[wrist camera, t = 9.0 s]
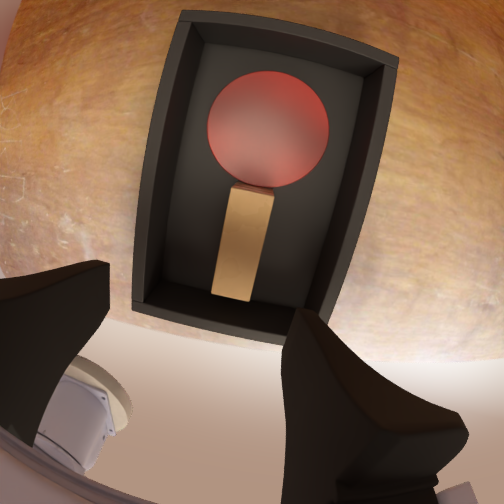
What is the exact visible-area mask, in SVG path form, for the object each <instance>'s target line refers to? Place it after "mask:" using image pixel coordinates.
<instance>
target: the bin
mask: <svg viewBox="0 0 504 504" xmlns="http://www.w3.org/2000/svg"><path fill="white" fill-rule="evenodd" d="M398 64H399V57H397V56H394V55H392V54H390V53H387V52H385V51H383V50H380V49H378V48H375V47H373V46H370V45H367V44H365V43H362V42H359V41H356V40H353V39H350V38H347V37H344V36H341V35H338V34H335V33H332V32H328V31H325V30H321V29H317V28H314V27H310V26H306V25H302V24H297V23H293V22H288V21H283V20H278V19H273V18H267V17H261V16H254V15H247V14H239V13H230V12H219V11H203V10H182V11H181V14H180V17H179V20H178V23H177V26H176V29H175V32H174V35H173V38H172V41H171V44H170V48H169V51H168V54H167V58H166V61H165V65H164V69H163V72H162V76H161V80H160V84H159V88H158V92H157V96H156V100H155V105H154V109H153V114H152V119H151V124H150V129H149V134H148V139H147V145H146V150H145V156H144V162H143V169H142V176H141V183H140V190H139V198H138V207H137V216H136V227H135V238H134V252H133V270H132V310H133V311H136V312H139V313H143V314H146V315H150V316H153V317H157V318H161V319H164V320H168V321H172V322H176V323H180V324H184V325H188V326H192V327H196V328H200V329H204V330H208V331H213V332H217V333H221V334H226V335H231V336H235V337H240V338H245V339H250V340H255V341H260V342H265V343H271V344H276V345H282V346H284V343H285V340H286V337H287V335H288V332H289V329H290V326H291V323H292V320H293V317H294V314H295V311H296V308H297V307H299V308H304V309H309V310H313V311H314V312H315V313H316V314H317V315H318V316H319V317H320V318H321V319H322V320H323V321H324V322H325V323H326V324H328V322H329V319H330V317H331V314H332V312H333V309H334V306H335V304H336V301H337V298H338V296H339V293H340V290H341V288H342V285H343V282H344V279H345V277H346V274H347V271H348V268H349V265H350V262H351V259H352V256H353V253H354V250H355V247H356V244H357V241H358V238H359V235H360V231H361V228H362V225H363V222H364V218H365V215H366V211H367V208H368V204H369V201H370V197H371V194H372V190H373V186H374V182H375V179H376V175H377V171H378V167H379V163H380V158H381V154H382V150H383V146H384V141H385V136H386V132H387V127H388V122H389V117H390V112H391V107H392V101H393V95H394V89H395V83H396V77H397V69H398ZM257 71H277V72H282V73H286V74H289V75H291V76H294V77H296V78H298V79H300V80H301V81H303V82H304V83H306V84H307V85H308V86H309V87H310V88H311V89H312V90H313V91H314V92H315V93H316V94H317V95H318V97H319V98H320V100H321V101H322V103H323V105H324V107H325V110H326V112H327V116H328V120H329V139H328V144H327V147H326V150H325V152H324V155H323V157H322V158H321V160H320V161H319V163H318V164H317V165H316V167H315V168H314V169H313V170H312V171H311V172H310V173H309V174H307V175H306V176H304V177H303V178H302V179H300V180H298V181H296V182H294V183H291V184H288V185H285V186H280V187H272V188H271V189H273V192H274V197H275V198H274V202H273V206H272V210H271V215H270V219H269V223H268V227H267V231H266V235H265V240H264V244H263V248H262V252H261V256H260V260H259V264H258V268H257V273H256V277H255V281H254V285H253V289H252V293H251V297H250V301H249V302H248V301H243V300H238V299H234V298H229V297H225V296H220V295H216V294H212V293H211V290H212V284H213V278H214V273H215V267H216V262H217V257H218V251H219V246H220V241H221V235H222V230H223V225H224V220H225V215H226V210H227V205H228V200H229V195H230V190H231V187H232V186H233V185H234V184H235V183H236V182H237V181H239V180H238V179H236V178H234V177H233V176H231V175H230V174H229V173H227V172H226V171H225V170H224V169H223V168H222V167H221V166H220V164H219V163H218V162H217V160H216V159H215V157H214V155H213V154H212V151H211V149H210V146H209V143H208V139H207V119H208V114H209V111H210V108H211V106H212V104H213V102H214V100H215V98H216V97H217V95H218V94H219V93H220V92H221V90H222V89H223V88H224V87H226V86H227V85H228V84H229V83H231V82H232V81H233V80H235V79H237V78H239V77H241V76H243V75H246V74H248V73H252V72H257ZM240 182H241V181H240Z"/></svg>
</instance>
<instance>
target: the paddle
mask: <svg viewBox="0 0 504 504" xmlns="http://www.w3.org/2000/svg"><path fill="white" fill-rule="evenodd" d="M207 139H208V143H209V146H210V149H211V151H212V154H213V155H214V157H215V159H216V160H217V162H218V163H219V164H220V166H221V167H222V168H223V169H224V170H225V171H226V172H227V173H229V174H230V175H231V176H233V177H234V178H236V179H238V180H239V181H237V182H236V183H235V184H234V185H233V186H232V187H231V190H230V195H229V200H228V205H227V210H226V215H225V220H224V225H223V230H222V235H221V241H220V246H219V251H218V257H217V262H216V267H215V273H214V278H213V284H212V290H211V293H212V294H216V295H220V296H225V297H229V298H234V299H238V300H243V301H248V302H249V301H250V297H251V293H252V289H253V285H254V281H255V277H256V273H257V268H258V264H259V260H260V256H261V252H262V248H263V244H264V240H265V235H266V231H267V227H268V223H269V219H270V215H271V210H272V206H273V202H274V198H275V197H274V192H273V189H271V188H272V187H280V186H285V185H288V184H291V183H294V182H296V181H298V180H300V179H302V178H303V177H304V176H306V175H307V174H309V173H310V172H311V171H312V170H313V169H314V168H315V167H316V165H317V164H318V163H319V161H320V160H321V158H322V157H323V155H324V152H325V150H326V147H327V144H328V139H329V120H328V116H327V112H326V110H325V107H324V105H323V103H322V101H321V100H320V98H319V97H318V95H317V94H316V93H315V92H314V91H313V90H312V89H311V88H310V87H309V86H308V85H307V84H306V83H304V82H303V81H301V80H300V79H298V78H296V77H294V76H291V75H289V74H286V73H282V72H277V71H257V72H252V73H248V74H246V75H243V76H241V77H239V78H237V79H235V80H233V81H232V82H231V83H229V84H228V85H227V86H226V87H224V88H223V89H222V90H221V92H220V93H219V94H218V95H217V97H216V98H215V100H214V102H213V104H212V106H211V108H210V111H209V114H208V119H207ZM240 181H241V182H240Z"/></svg>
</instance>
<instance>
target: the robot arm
mask: <svg viewBox="0 0 504 504" xmlns="http://www.w3.org/2000/svg"><path fill="white" fill-rule="evenodd" d="M109 309H110V263H107V262H103V261H100V260H90V261H85V262H80V263H76V264H72V265H68V266H64V267H60V268H57V269H53V270H48V271H44V272H40V273H35V274H31V275H26V276H20V277H13V278H4V279H0V504H157V503H154V502H151V501H147V500H144V499H141V498H138V497H135V496H132V495H129V494H126V493H123V492H121V491H118V490H115V489H113V488H110V487H108V486H105V485H102V484H100V483H98V482H96V481H93V480H91V479H89V478H87V477H86V476H84V473H85V472H86V471H88V470H90V469H91V468H92V467H93V466H94V464H95V462H96V460H97V458H98V455H99V453H100V451H101V449H102V447H103V444H104V442H105V440H106V438H107V436H108V434H109V435H111V436H116V431H115V426H114V422H113V418H112V413H111V408H110V403H109V398H108V394H107V393H106V392H105V391H103V390H101V389H98V388H96V387H93V386H91V385H89V384H86V383H84V382H82V381H79V380H77V379H75V378H73V377H70V376H68V375H66V374H64V372H65V371H66V369H67V368H68V366H69V365H70V363H71V362H72V361H73V359H74V358H75V357H76V356H77V354H78V353H79V351H80V350H81V349H82V348H83V347H84V345H85V344H86V343H87V342H88V340H89V339H90V338H91V336H92V335H93V334H94V333H95V332H96V330H97V329H98V328H99V326H100V325H101V323H102V321H103V320H104V318H105V316H106V315H107V313H108V311H109ZM281 379H282V390H283V399H284V409H285V419H286V448H285V466H284V478H283V488H282V498H281V504H478V502H477V499H476V497H475V494H474V492H473V489H472V487H471V484H470V482H464V483H462V484H459V485H456V486H453V487H451V488H448V489H445V490H443V491H441V492H439V493H437V494H435V491H434V488H433V487H434V486H436V485H437V484H438V482H439V480H438V478H437V475H436V474H437V473H438V472H439V471H440V470H441V469H442V468H443V467H445V466H446V465H447V464H448V463H449V462H450V461H451V460H452V459H453V458H454V457H455V456H456V455H457V454H458V453H459V452H460V451H461V450H462V449H463V447H464V446H465V444H466V442H467V440H468V437H469V432H468V430H467V428H466V426H465V424H464V422H463V420H462V419H461V417H460V415H459V414H458V413H457V412H454V411H451V410H449V409H446V408H443V407H440V406H438V405H435V404H432V403H430V402H428V401H425V400H424V399H421V398H419V397H417V396H415V395H413V394H411V393H409V392H407V391H406V390H404V389H402V388H401V387H399V386H397V385H396V384H394V383H392V382H391V381H389V380H387V379H386V378H385V377H383V376H382V375H380V374H379V373H378V372H376V371H375V370H374V369H373V368H371V367H370V366H368V365H367V364H366V363H365V362H364V361H363V360H361V359H360V358H359V357H358V356H357V355H356V354H355V353H354V352H353V351H352V350H351V349H350V348H348V347H347V346H346V345H345V344H344V343H343V341H342V340H341V339H340V338H339V337H338V336H337V335H336V334H335V333H334V332H333V331H332V330H331V329H330V328H329V327H328V325H327V324H326V323H325V322H324V321H323V320H322V319H321V318H320V317H319V316H318V315H317V314H316V313H315V312H314V311H313V310H309V309H304V308H299V307H297V308H296V311H295V314H294V317H293V320H292V323H291V326H290V329H289V332H288V335H287V337H286V340H285V343H284V346H283V349H282V358H281Z"/></svg>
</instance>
